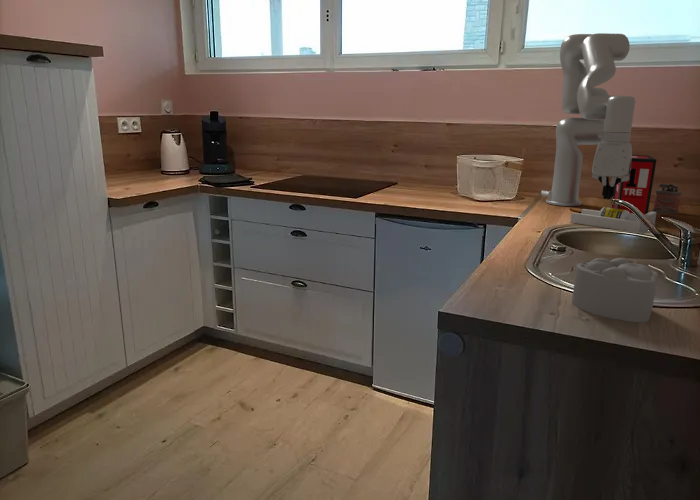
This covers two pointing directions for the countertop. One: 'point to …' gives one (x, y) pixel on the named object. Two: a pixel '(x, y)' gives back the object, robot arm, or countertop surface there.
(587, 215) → the u rest
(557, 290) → the countertop surface
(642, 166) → the cleaning product box
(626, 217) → the supplement bottle
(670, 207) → the lighter
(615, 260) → the lumpy-topped squat cylinder
